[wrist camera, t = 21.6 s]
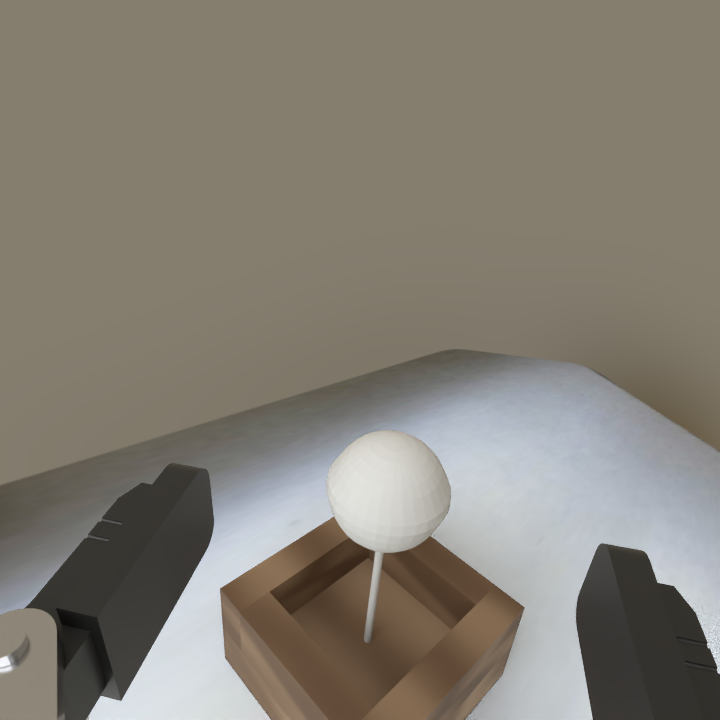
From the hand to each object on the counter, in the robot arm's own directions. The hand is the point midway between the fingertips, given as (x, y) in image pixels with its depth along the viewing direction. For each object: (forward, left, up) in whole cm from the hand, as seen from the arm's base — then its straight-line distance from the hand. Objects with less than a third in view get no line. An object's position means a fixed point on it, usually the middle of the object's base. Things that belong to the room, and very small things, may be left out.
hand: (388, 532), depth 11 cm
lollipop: (-10, -8, -22) cm, 25 cm away
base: (-10, -8, -25) cm, 28 cm away
